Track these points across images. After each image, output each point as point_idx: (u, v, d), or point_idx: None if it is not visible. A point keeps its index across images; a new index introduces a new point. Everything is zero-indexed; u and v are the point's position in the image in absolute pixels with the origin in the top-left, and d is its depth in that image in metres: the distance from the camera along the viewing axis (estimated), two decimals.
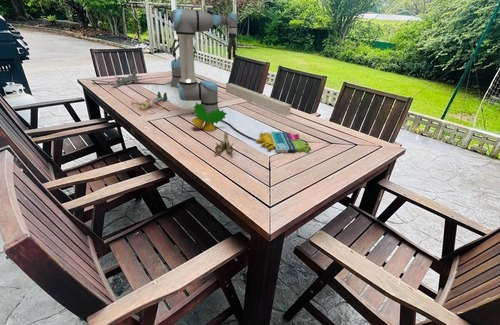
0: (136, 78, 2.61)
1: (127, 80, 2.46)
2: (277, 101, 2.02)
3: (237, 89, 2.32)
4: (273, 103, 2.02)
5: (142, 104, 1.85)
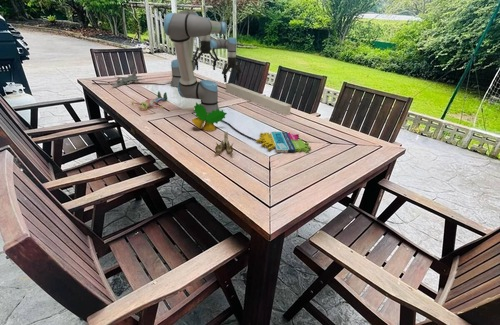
0: (136, 78, 2.61)
1: (127, 80, 2.46)
2: (277, 101, 2.02)
3: (237, 89, 2.32)
4: (273, 103, 2.02)
5: (142, 104, 1.85)
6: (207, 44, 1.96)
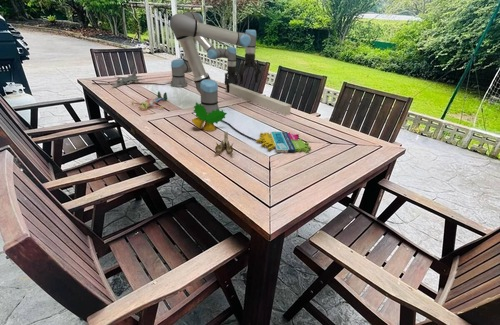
0: (136, 78, 2.61)
1: (127, 80, 2.46)
2: (277, 101, 2.02)
3: (237, 89, 2.32)
4: (273, 103, 2.02)
5: (142, 104, 1.85)
6: (253, 57, 1.89)
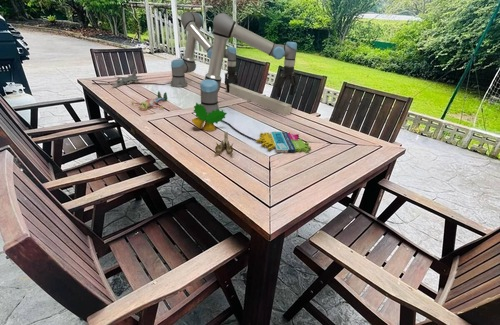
0: (136, 78, 2.61)
1: (127, 80, 2.46)
2: (277, 101, 2.02)
3: (237, 89, 2.32)
4: (273, 103, 2.02)
5: (142, 104, 1.85)
6: (293, 70, 1.83)
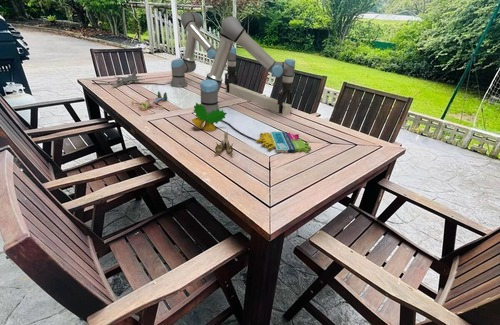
0: (136, 78, 2.61)
1: (127, 80, 2.46)
2: (277, 101, 2.02)
3: (237, 89, 2.32)
4: (273, 103, 2.02)
5: (142, 104, 1.85)
6: (291, 86, 1.88)
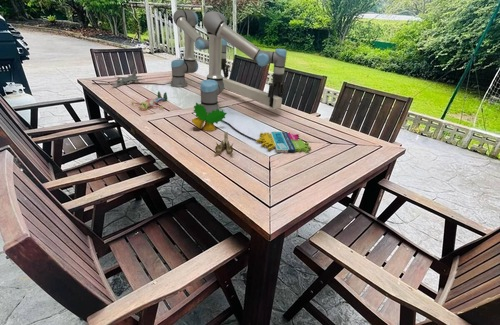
0: (136, 78, 2.61)
1: (127, 80, 2.46)
2: None
3: (227, 82, 2.22)
4: (263, 97, 1.92)
5: (142, 104, 1.85)
6: (282, 77, 1.78)
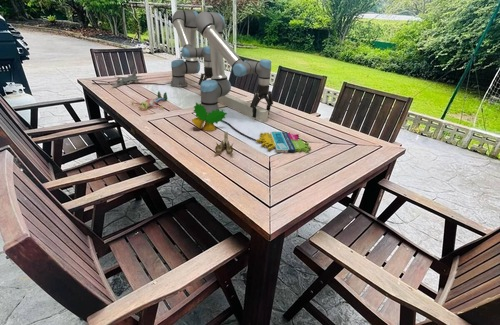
0: (136, 78, 2.61)
1: (127, 80, 2.46)
2: (254, 106, 1.86)
3: None
4: (249, 109, 1.86)
5: (142, 104, 1.85)
6: (267, 89, 1.72)
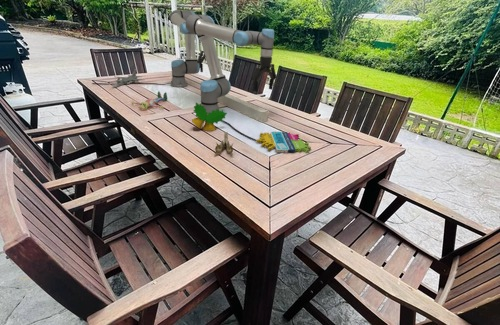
0: (136, 78, 2.61)
1: (127, 80, 2.46)
2: (254, 106, 1.86)
3: None
4: (249, 109, 1.86)
5: (142, 104, 1.85)
6: (270, 61, 1.63)
